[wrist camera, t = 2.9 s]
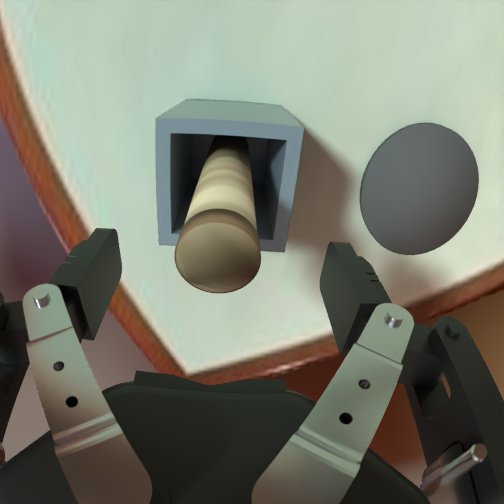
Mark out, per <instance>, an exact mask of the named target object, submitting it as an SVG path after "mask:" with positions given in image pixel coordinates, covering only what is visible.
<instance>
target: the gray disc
mask: <svg viewBox="0 0 504 504" xmlns="http://www.w3.org/2000/svg"><path fill="white" fill-rule="evenodd" d="M478 183H479V176H478V167H477V163H476V159H475V157H474V154H473V152H472V150H471V148H470V147H469V145H468V144H467V142H466V141H465V140H464V139H463V138H462V137H461V136H460V135H459V134H457V133H456V132H454V131H453V130H451V129H449V128H446V127H444V126H441V125H438V124H434V123H417V124H413V125H409V126H407V127H404V128H402V129H400V130H398V131H397V132H395V133H393V134H392V135H391V136H390V137H388V138H387V139H386V140H385V141H384V142H383V143H382V144H381V145H380V146H379V147H378V149H377V150H376V151H375V153H374V154H373V156H372V157H371V159H370V161H369V163H368V165H367V167H366V169H365V172H364V175H363V178H362V182H361V188H360V209H361V213H362V217H363V220H364V222H365V225H366V226H367V228H368V230H369V232H370V233H371V235H372V236H373V237H374V238H375V240H376V241H377V242H378V243H379V244H380V245H382V246H383V247H384V248H386V249H388V250H390V251H392V252H395V253H398V254H403V255H417V254H422V253H426V252H429V251H432V250H434V249H436V248H438V247H440V246H442V245H443V244H445V243H446V242H448V241H449V240H450V239H451V238H452V237H453V236H454V235H455V234H456V233H457V232H458V231H459V230H460V229H461V228H462V226H463V225H464V224H465V222H466V221H467V219H468V217H469V215H470V213H471V211H472V209H473V207H474V204H475V201H476V197H477V192H478Z"/></svg>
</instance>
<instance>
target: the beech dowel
mask: <svg viewBox="0 0 504 504" xmlns="http://www.w3.org/2000/svg"><path fill="white" fill-rule="evenodd" d="M175 263H176V267H177V269H178V271H179V273H180V274H181V276H182V277H183V278H184V279H185V280H186V281H187V282H188V283H189V284H191V285H192V286H194V287H195V288H198V289H200V290H202V291H206V292H210V293H228V292H233V291H236V290H238V289H241V288H243V287H244V286H246V285H247V284H248V283H250V282H251V281H252V280H253V279H254V277H255V276H256V274H257V273H258V270H259V268H260V264H261V253H260V243H259V237H258V233H257V226H256V216H255V206H254V196H253V186H252V176H251V166H250V157H249V147H248V142H247V140H246V138H245V137H244V136H231V135H216V136H215V138H214V139H213V141H212V144H211V146H210V149H209V152H208V155H207V158H206V160H205V163H204V166H203V169H202V172H201V175H200V178H199V181H198V184H197V187H196V190H195V193H194V196H193V199H192V202H191V205H190V208H189V211H188V214H187V217H186V220H185V224H184V226H183V228H182V230H181V232H180V235H179V238H178V242H177V245H176V248H175Z"/></svg>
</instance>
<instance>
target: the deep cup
mask: <svg viewBox="0 0 504 504" xmlns="http://www.w3.org/2000/svg"><path fill="white" fill-rule="evenodd" d="M303 133H304V127H303V126H302V125H301V124H300V123H299V122H298V121H297V120H296V119H295V118H294V117H293V116H292V115H291V114H290V113H289V112H288V111H287V110H286V109H285V108H283V107H282V106H281V105H274V104H265V103H254V102H241V101H225V100H203V99H186V100H184V101H182V102H181V103H179V104H177V105H176V106H174V107H173V108H171V109H169V110H168V111H166V112H165V113H163V114H162V115H160V116H158V117H157V118H156V194H157V217H158V235H159V245H169V246H176V245H177V242H178V238H179V235H180V232H181V230H182V228H183V226H184V224H185V220H186V217H187V214H188V211H189V208H190V205H191V202H192V199H193V196H194V193H195V190H196V187H197V184H198V181H199V178H200V175H201V172H202V169H203V166H204V163H205V160H206V158H207V155H208V152H209V149H210V146H211V144H212V141H213V139H214V138H215V136H216V135H231V136H244V137H245V138H246V140H247V142H248V147H249V157H250V166H251V176H252V186H253V196H254V206H255V216H256V226H257V233H258V237H259V243H260V251H271V252H285V247H286V241H287V235H288V229H289V223H290V217H291V211H292V205H293V199H294V192H295V186H296V180H297V173H298V166H299V160H300V153H301V146H302V140H303Z"/></svg>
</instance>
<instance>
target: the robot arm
mask: <svg viewBox="0 0 504 504" xmlns="http://www.w3.org/2000/svg"><path fill="white" fill-rule="evenodd" d="M121 273H122V262H121V256H120V249H119V242H118V235H117V231H116V230H115V229H106V228H96V229H95V230H94V232H93V233H92V235H91V236H90V237H89V239H88V240H83V241H82V242H81V243H79V244H78V245H76V246H75V247H74V248H73V249H72V250H71V252H70V253H69V255H68V257H67V258H66V259H65V260H64V262H63V263H62V264H61V266H60V267H59V269H58V270H57V272H56V273H55V274H54V276H53V277H52V279H51V280H50V282H49V283H48V284H43V285H39V286H36V287H34V288H32V289H31V290H30V291H28V293H26V295H25V297H24V299H23V301H17V302H10V303H6V302H5V299H4V297H3V295H2V294H1V292H0V504H504V401H503V398H502V396H501V394H500V392H499V390H498V388H497V386H496V384H495V382H494V379H493V377H492V375H491V373H490V371H489V369H488V367H487V365H486V363H485V361H484V360H483V357H482V356H481V354H480V352H479V350H478V348H477V346H476V344H475V343H474V341H473V339H472V337H471V335H470V334H469V332H468V330H467V329H466V327H465V326H464V325H463V324H462V323H461V322H459V321H458V320H456V319H454V318H451V317H440V318H439V319H438V320H437V321H436V323H435V325H434V326H433V327H430V326H425V325H421V324H417V323H414V320H413V317H412V316H411V314H410V313H409V312H408V311H407V310H406V309H404V308H403V307H401V306H399V305H396V304H392V302H391V300H390V299H389V297H388V295H387V293H386V291H385V289H384V287H383V286H382V284H381V282H379V278H378V277H377V275H375V274H376V273H375V271H374V269H373V268H372V266H371V264H370V263H368V262H367V261H366V260H365V259H364V258H363V257H361V256H357V255H356V253H355V251H354V249H353V248H352V246H351V244H350V243H342V242H330V243H329V245H328V248H327V252H326V256H325V260H324V264H323V268H322V272H321V276H320V291H321V294H322V297H323V301H324V304H325V307H326V310H327V313H328V317H329V320H330V323H331V326H332V330H333V333H334V336H335V340H336V343H337V347H338V350H339V353H340V355H347V357H346V358H345V360H344V362H343V363H342V365H341V366H340V368H339V370H338V371H337V373H336V374H335V376H334V378H333V379H332V381H331V383H330V384H329V385H328V387H327V389H326V390H325V392H324V393H323V395H322V396H321V398H320V399H319V401H318V402H315V401H314V400H312V399H310V398H308V397H306V396H304V395H302V394H299V393H296V392H293V391H289V390H286V384H285V379H246V380H240V381H235V382H229V383H223V384H217V385H205V384H201V383H198V382H194V381H191V380H188V379H184V378H181V377H178V376H175V375H171V374H161V373H152V372H143V371H136V374H135V378H134V381H130V382H125V383H121V384H117V385H114V386H112V387H109V388H107V389H105V390H103V391H102V392H101V390H100V388H99V386H98V384H97V382H96V380H95V377H94V375H93V373H92V371H91V369H90V367H89V364H88V362H87V360H86V357H85V355H84V353H83V350H82V348H81V345H80V343H81V341H82V339H87V340H94V339H95V336H96V333H97V331H98V328H99V326H100V324H101V322H102V319H103V317H104V315H105V312H106V310H107V308H108V305H109V303H110V301H111V299H112V296H113V294H114V292H115V290H116V287H117V285H118V283H119V281H120V278H121ZM29 364H31V369H32V373H33V377H34V380H35V384H36V388H37V391H38V394H39V398H40V401H41V405H42V408H43V411H44V414H45V417H46V419H47V423H48V426H49V428H50V430H49V431H48V432H47V433H45V434H44V435H43V436H41V437H40V438H38V439H37V440H36V441H34V442H33V443H32V444H30V445H29V446H28V447H26V448H25V449H24V450H22V451H21V452H19V453H18V454H17V455H15V456H14V457H13V458H11V459H10V460H9V461H7V462H6V461H5V451H4V448H3V445H2V442H3V438H4V435H5V431H6V428H7V425H8V422H9V418H10V415H11V412H12V409H13V406H14V403H15V401H16V398H17V395H18V392H19V390H20V387H21V384H22V381H23V379H24V376H25V374H26V371H27V369H28V366H29ZM444 376H445V377H446V379H447V382H448V384H449V387H450V390H451V395H450V399H449V397H448V394H447V392H446V389H445V387H444V384H443V381H442V379H443V377H444ZM396 383H402V384H404V387H405V390H406V393H407V396H408V399H409V402H410V406H411V409H412V412H413V416H414V419H415V423H416V426H417V429H418V433H419V437H420V440H421V444H422V448H423V452H424V456H425V460H426V464H427V467H426V468H425V470H424V471H423V474H422V480H421V481H422V484H421V485H420V488H418V487H417V486H416V485H415V484H414V483H412V482H411V481H410V480H408V479H407V478H406V477H405V476H403V475H402V474H401V473H400V472H398V471H397V470H396V469H395V468H394V467H392V466H391V465H390V464H389V463H387V462H386V461H385V460H384V459H382V458H381V457H380V456H379V455H378V454H376V453H375V452H374V451H373V450H372V449H371V448H369V447H368V446H369V444H370V442H371V440H372V437H373V436H374V434H375V432H376V430H377V427H378V426H379V423H380V421H381V419H382V417H383V414H384V412H385V410H386V408H387V405H388V403H389V401H390V398H391V396H392V393H393V391H394V389H395V386H396Z"/></svg>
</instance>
